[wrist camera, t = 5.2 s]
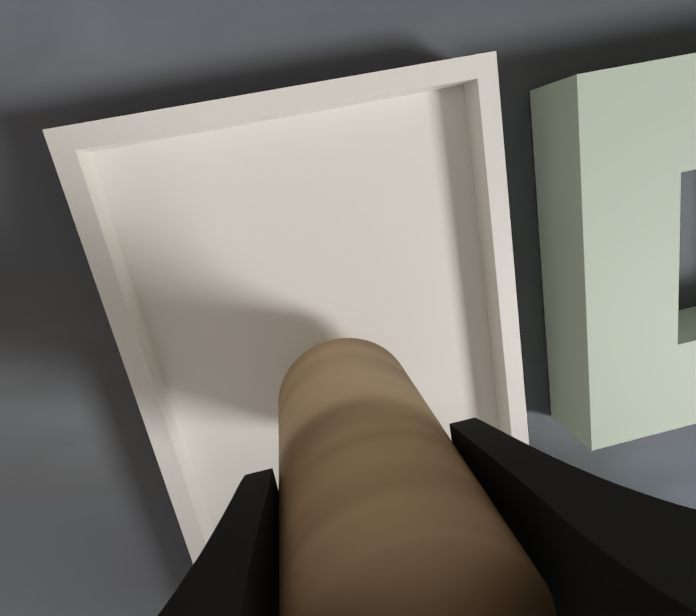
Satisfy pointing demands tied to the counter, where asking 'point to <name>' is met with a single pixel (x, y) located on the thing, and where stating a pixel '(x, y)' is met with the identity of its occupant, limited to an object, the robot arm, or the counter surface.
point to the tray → (299, 256)
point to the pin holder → (616, 247)
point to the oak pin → (385, 501)
